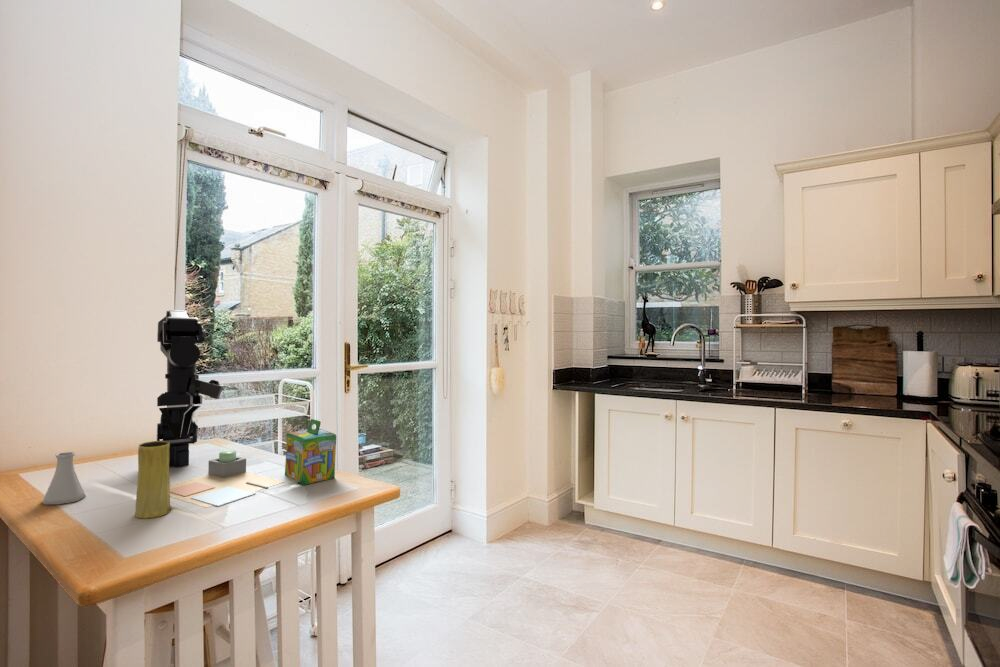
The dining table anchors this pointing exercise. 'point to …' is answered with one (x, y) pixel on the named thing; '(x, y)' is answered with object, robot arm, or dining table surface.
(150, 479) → the vase
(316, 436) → the chalk box
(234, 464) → the button housing
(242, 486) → the picture board
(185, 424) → the robot arm
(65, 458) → the flask
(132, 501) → the dining table surface
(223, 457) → the button
